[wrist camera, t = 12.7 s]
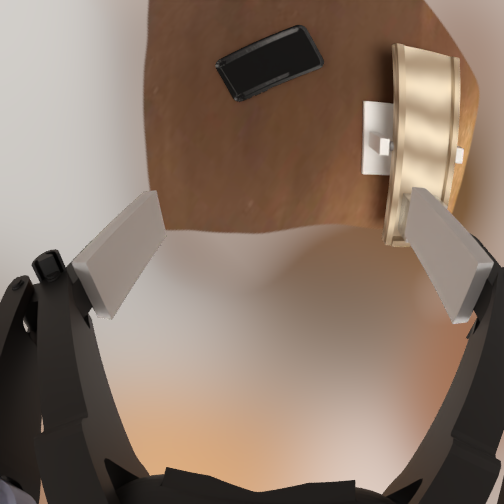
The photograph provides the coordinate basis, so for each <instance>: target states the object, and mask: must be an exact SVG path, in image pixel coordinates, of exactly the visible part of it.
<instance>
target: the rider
mask: <svg viewBox="0 0 504 504" xmlns="http://www.w3.org/2000/svg"><path fill="white" fill-rule="evenodd" d="M433 196H434V197H435V198H436V199H437V200H438V201H439V202H440V203H441V204H442V205H443V206H444V207H445V208H446V209H447V207H448V206H447V205H446V204H445V203H444V202H443V201H442V200H440V199H439V198H438V197H437V196H436V195H433ZM410 199H411V194H405V193H403V197H402V204H401V211H400V217H399V223H398V231H399V233H400V234H401V236H402V238H403V239H404V241H405V243H409V242H408V240H407V238H406V237H405V235H404V234H405V228H406V223H407V217H408V212H409V205H410Z"/></svg>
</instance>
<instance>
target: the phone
mask: <svg viewBox="0 0 504 504" xmlns="http://www.w3.org/2000/svg"><path fill="white" fill-rule="evenodd" d="M323 64H324V60H323V58H322V56H321V54H320V52H319V50H318V49H317V47H316V45H315V43H314V41H313V39H312V38H311V36H310V34H309V32H308V31H307V29H306V28H305V27H304V26H302V25H296V26H293V27H291V28H288V29H285V30H283V31H280V32H278V33H275V34H273V35H270V36H268V37H266V38H263V39H261V40H259V41H256V42H254V43H252V44H250V45H248V46H246V47H243V48H241V49H239V50H237V51H235V52H233V53H231V54H229V55H227V56H225V57H223V58H221V59H219V60H218V61H217V62H216V69H217V71H218V72H219V74H220V76H221V78H222V79H223V81H224V83H225V85H226V86H227V88H228V90H229V92H230V94H231V95H232V97H233V99H234V100H236V101H244V100H246V99H249V98H251V97H252V96H254V95H255V96H256V95H258V94H260V93H261V92H265V91H267V89H270V88H272V87H274V86H277V85H279V84H281V83H284V82H286V81H288V80H291V79H293V78H296V77H298V76H301V75H304V74H306V73H309V72H311V71H314V70H317V69H319V68H321V67H322V66H323Z"/></svg>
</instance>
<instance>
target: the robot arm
mask: <svg viewBox="0 0 504 504" xmlns="http://www.w3.org/2000/svg"><path fill="white" fill-rule="evenodd" d="M404 235H405V237H406V238H407V240H408V242H409V243H410V245H411V247H412V248H413V250H414V251H415V253H416V255H417V257H418V258H419V260H420V262H421V264H422V265H423V267H424V269H425V271H426V272H427V274H428V276H429V278H430V280H431V282H432V283H433V285H434V287H435V289H436V291H437V293H438V295H439V297H440V299H441V301H442V303H443V305H444V307H445V309H446V311H447V313H448V315H449V317H450V319H451V321H452V323H453V324H457V323H464V322H468V320H469V318H470V316H471V314H472V312H473V310H474V311H475V313H476V315H477V319H476V321H475V323H474V324H473V326H472V328H471V330H470V332H469V334H468V335H467V337H466V338H467V339H469V340H468V343H467V346H466V349H465V352H464V355H463V357H462V360H461V362H460V365H459V367H458V370H457V372H456V375H455V377H454V379H453V382H452V384H451V386H450V389H449V391H448V393H447V395H446V398H445V400H444V402H443V404H442V406H441V408H440V410H439V412H438V414H437V416H436V418H435V420H434V421H433V423H432V425H431V427H430V429H429V430H428V432H427V434H426V436H425V437H424V439H423V441H422V443H421V444H420V446H419V447H418V449H417V451H416V452H415V454H414V456H413V458H412V459H411V460H410V462H409V463H408V465H407V466H406V468H405V469H404V470H403V471H402V473H401V474H400V475H399V476H398V477H397V478H396V479H395V480H394V481H393V482H392V483H391V484H390V485H389V486H388V488H387V489H386V490H385V492H384V493H383V494H382V495H381V494H379V493H376V492H374V491H371V490H367V489H363V488H357V487H355V480H351V481H339V482H325V483H323V482H321V483H306V484H302V485H297V486H292V487H287V488H282V489H277V490H271V491H265V492H253V491H250V490H247V489H244V488H241V487H238V486H235V485H232V484H229V483H227V482H224V481H221V480H219V479H216V478H214V477H211V476H208V475H202V474H197V473H191V472H187V471H182V470H177V469H173V468H169V467H166V471H165V474H162V475H152V476H150V475H149V473H148V472H147V470H146V469H145V467H144V466H143V465H142V464H141V462H140V461H139V460H138V458H137V457H136V455H135V453H134V451H133V449H132V446H131V444H130V442H129V439H128V437H127V434H126V432H125V430H124V427H123V424H122V422H121V419H120V416H119V414H118V411H117V408H116V405H115V403H114V400H113V397H112V394H111V391H110V387H109V384H108V381H107V378H106V374H105V371H104V368H103V364H102V361H101V357H100V353H99V349H98V345H97V341H96V337H95V333H94V328H93V323H92V319H91V317H90V316H89V314H88V312H89V311H90V309H91V308H92V307H93V309H94V311H95V313H96V315H97V317H99V318H104V319H113V317H114V316H115V314H116V312H117V311H118V309H119V308H120V306H121V304H122V303H123V301H124V300H125V298H126V296H127V295H128V293H129V292H130V290H131V288H132V287H133V285H134V284H135V282H136V281H137V279H138V278H139V276H140V275H141V273H142V272H143V270H144V268H145V267H146V265H147V264H148V262H149V261H150V259H151V258H152V256H153V255H154V254H155V252H156V251H157V249H158V248H159V246H160V245H161V243H162V242H163V241H164V239H165V238H166V236H167V235H166V231H165V226H164V222H163V218H162V214H161V209H160V205H159V200H158V196H157V191H146V192H143V193H142V194H141V195H140V196H139V197H137V198H136V199H135V200H134V201H133V202H132V203H131V204H130V205H129V206H127V207H126V208H125V209H124V210H123V211H122V212H121V213H120V214H119V215H118V216H117V217H116V218H115V219H114V220H113V221H112V222H110V223H109V224H108V225H107V226H106V227H105V228H104V229H103V230H102V231H101V232H100V233H99V234H98V235H97V236H96V237H95V238H94V239H93V240H92V241H91V242H90V243H89V244H88V245H87V246H86V247H85V248H84V249H83V250H82V251H81V252H80V254H78V255H77V257H75V258H74V259H73V261H72V262H71V263H70V264H69V265H68V266H67V267H65V265H64V263H63V261H62V258H61V256H60V254H59V251H58V250H56V249H55V250H50V251H46V252H44V253H43V254H41V255H39V256H38V257H37V258H36V259H35V260H34V261H33V263H32V267H33V269H34V271H35V273H36V275H37V277H38V279H39V281H40V283H39V284H34V285H33V284H32V282H31V280H30V279H29V277H28V276H26V275H24V276H21V277H17V278H16V279H14V280H13V281H12V283H11V284H10V285H9V286H8V288H7V289H6V292H5V294H4V296H3V298H2V300H1V302H0V504H39V498H40V484H41V481H40V480H42V485H43V488H44V492H45V495H46V499H47V502H48V504H486V502H487V499H488V497H489V495H490V493H491V491H492V489H493V487H494V485H495V482H496V480H497V478H498V475H499V472H500V469H501V461H500V460H498V459H496V457H495V454H496V451H497V448H498V445H499V442H500V439H501V436H502V433H503V430H504V267H501V266H500V265H499V264H498V263H497V261H496V260H495V259H494V257H493V256H492V255H491V254H490V253H489V252H488V250H487V249H486V248H485V247H483V245H482V243H481V242H480V241H479V240H478V239H477V238H476V237H475V236H473V235H472V234H470V233H469V232H468V231H467V230H466V229H465V228H464V227H463V226H462V225H461V223H460V222H459V221H458V220H457V219H456V218H455V217H454V216H453V215H452V214H451V213H450V212H449V211H448V210H447V209H446V208H445V207H444V206H443V205H442V204H441V203H440V202H439V201H438V200H437V199H436V198H435V197H434V196H433V195H432V194H431V193H430V192H429V191H428V190H427V189H426V188H420V187H412V192H411V199H410V205H409V212H408V217H407V223H406V228H405V234H404ZM23 321H24V322H25V324H26V325H27V327H28V331H27V332H26V331H25V328H24V326H23ZM42 418H43V425H44V431H43V433H41V419H42ZM497 504H504V478H503V482H502V486H501V490H500V494H499V498H498V502H497Z"/></svg>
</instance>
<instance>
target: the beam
mask: <svg viewBox="0 0 504 504" xmlns="http://www.w3.org/2000/svg"><path fill="white" fill-rule="evenodd" d="M392 57H393V86H394V110H393V140H392V141H390V143H389V150H390V151H392V156H391V169H390V179H389V189H388V198H387V206H386V213H385V220H384V227H383V234H382V239H383V241H384V243H385V245H391V246H392V247H411V245H410V243H405V241H404V239H403V238H402V236H401V234H400V233H399V231H398V223H399V217H400V211H401V204H402V197H403V193H405V194H411V192H412V187H420V188H426V189H427V190H428V191H429V192H430V193H431V194H432V195H436V196H437V197H438V198H439V199H440V200H442V201H443V202H444V203H445V204H446V205H447V206H448V203H449V197H450V192H451V186H452V180H453V174H454V167H455V160H456V151H457V142H458V131H459V115H460V59H459V58H456V57H449V56H445V55H442V54H438V53H434V52H430V51H426V50H422V49H417V48H413V47H408V46H404V44H398V43H397V44H393V45H392Z"/></svg>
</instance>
